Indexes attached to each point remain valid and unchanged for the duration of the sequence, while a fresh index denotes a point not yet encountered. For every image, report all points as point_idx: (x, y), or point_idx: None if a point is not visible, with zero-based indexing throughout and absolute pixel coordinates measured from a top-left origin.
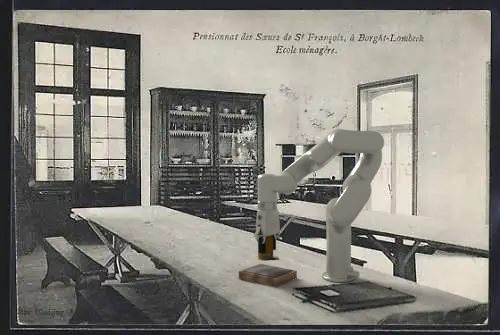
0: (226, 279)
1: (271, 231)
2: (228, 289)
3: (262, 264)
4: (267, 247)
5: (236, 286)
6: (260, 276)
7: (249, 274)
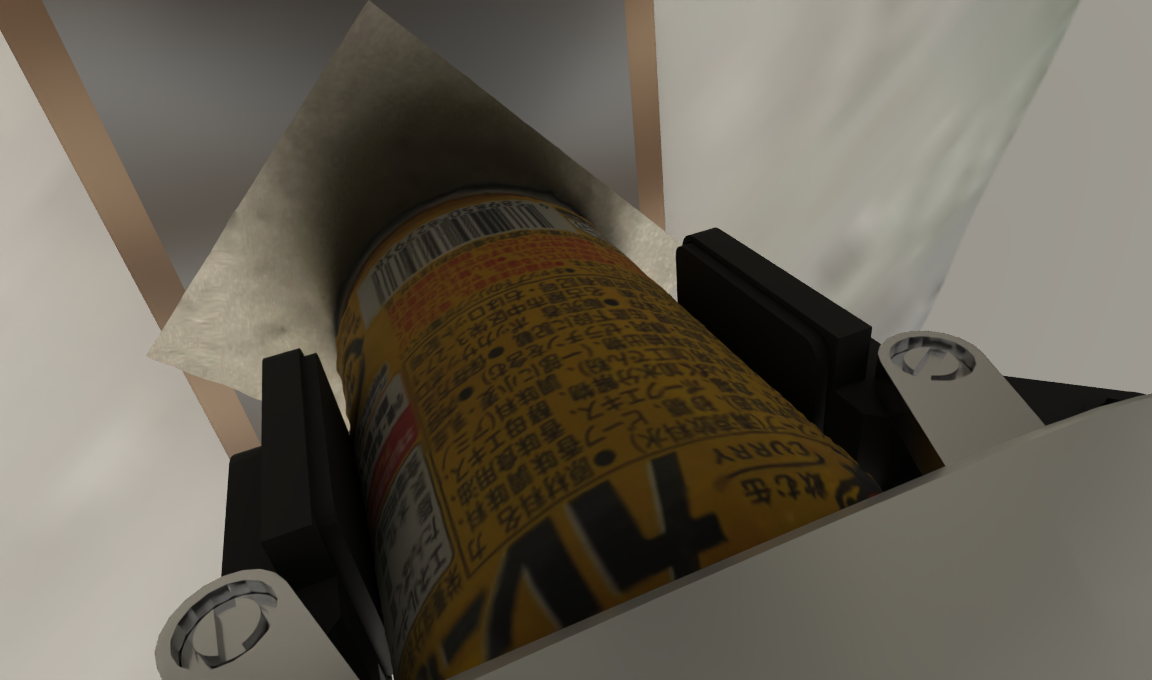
0: None
1: (1085, 644)
2: (908, 155)
3: None
4: (672, 309)
5: (813, 178)
6: (654, 89)
7: None
